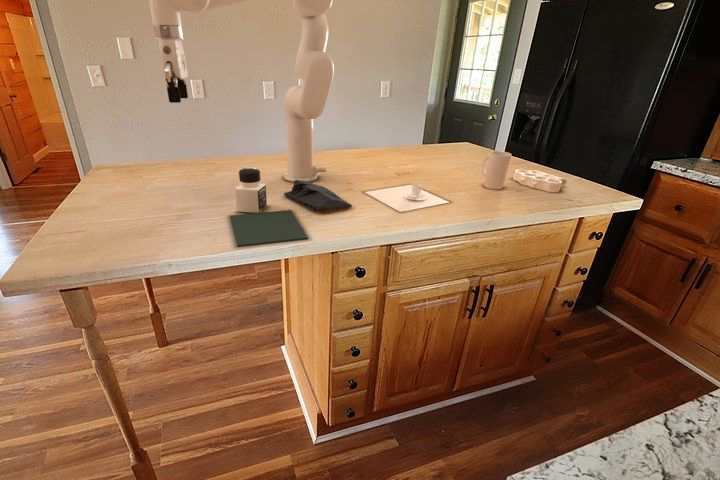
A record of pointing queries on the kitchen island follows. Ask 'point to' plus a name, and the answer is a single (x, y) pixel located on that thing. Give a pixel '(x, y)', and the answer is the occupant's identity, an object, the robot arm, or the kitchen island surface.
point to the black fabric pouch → (315, 197)
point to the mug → (496, 169)
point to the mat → (266, 228)
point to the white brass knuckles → (539, 180)
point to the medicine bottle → (250, 191)
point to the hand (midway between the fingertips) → (179, 100)
